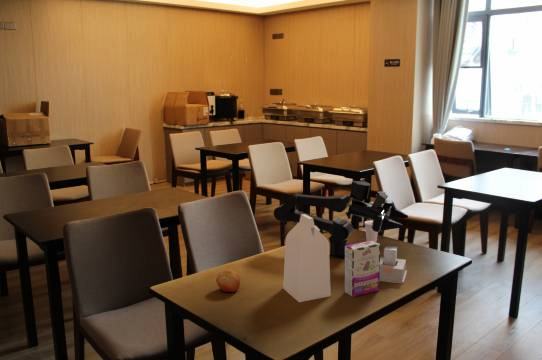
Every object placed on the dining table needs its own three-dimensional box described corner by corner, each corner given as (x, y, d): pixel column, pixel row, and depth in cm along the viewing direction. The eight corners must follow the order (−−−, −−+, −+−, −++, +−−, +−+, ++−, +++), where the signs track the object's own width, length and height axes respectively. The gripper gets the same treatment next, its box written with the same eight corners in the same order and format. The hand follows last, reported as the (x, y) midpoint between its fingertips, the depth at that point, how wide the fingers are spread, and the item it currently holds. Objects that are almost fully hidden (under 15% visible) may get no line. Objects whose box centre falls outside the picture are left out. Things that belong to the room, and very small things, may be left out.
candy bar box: (370, 285, 177) (371, 239, 174) (379, 291, 173) (381, 243, 169) (343, 292, 172) (344, 244, 169) (352, 297, 168) (353, 249, 164)
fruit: (246, 280, 178) (241, 266, 173) (239, 300, 173) (233, 285, 168) (224, 278, 181) (219, 263, 176) (217, 296, 175) (211, 282, 170)
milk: (283, 288, 175) (282, 213, 170) (313, 282, 180) (314, 210, 175) (298, 302, 165) (299, 223, 159) (330, 296, 169) (331, 219, 164)
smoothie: (380, 246, 216) (381, 214, 214) (365, 247, 216) (366, 214, 214) (377, 242, 223) (378, 210, 220) (362, 242, 223) (363, 210, 220)
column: (382, 274, 184) (383, 249, 182) (384, 270, 188) (385, 245, 186) (395, 276, 182) (396, 250, 180) (396, 272, 186) (397, 246, 184)
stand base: (371, 280, 182) (371, 266, 181) (376, 268, 192) (376, 256, 191) (403, 284, 178) (404, 270, 177) (407, 272, 188) (407, 259, 187)
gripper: (361, 199, 187) (404, 211, 182) (374, 183, 203) (414, 193, 198) (356, 226, 192) (398, 239, 186) (369, 208, 208) (408, 219, 202)
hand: (405, 221), depth 193 cm, fingers open, 9 cm apart
